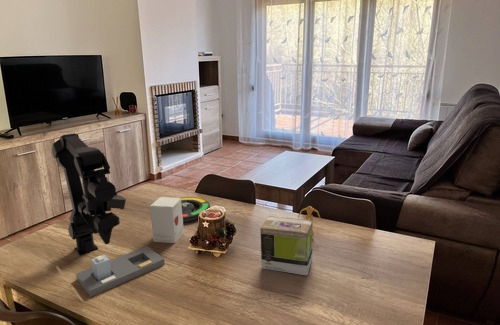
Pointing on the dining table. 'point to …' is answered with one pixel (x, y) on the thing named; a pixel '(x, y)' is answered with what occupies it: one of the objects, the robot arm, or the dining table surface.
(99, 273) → the plug
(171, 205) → the supplement box
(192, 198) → the electronic game
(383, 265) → the dining table surface
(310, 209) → the figurine
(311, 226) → the tea box
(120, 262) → the panel
